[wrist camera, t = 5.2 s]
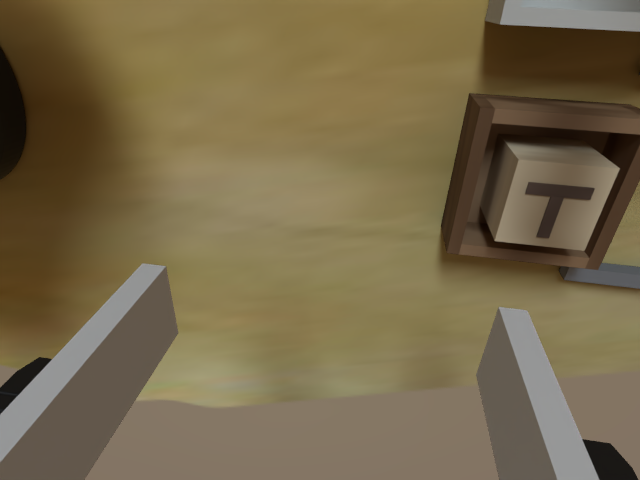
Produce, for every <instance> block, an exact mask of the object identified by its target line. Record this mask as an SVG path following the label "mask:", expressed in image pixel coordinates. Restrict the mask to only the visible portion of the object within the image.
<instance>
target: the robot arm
mask: <svg viewBox="0 0 640 480" xmlns="http://www.w3.org/2000/svg"><path fill="white" fill-rule="evenodd" d="M25 132H26V123H25V113H24V107H23V102H22V98H21V94H20V91H19V88H18V85H17V82H16V80H15V77H14V75H13V72H12V70H11V68H10V66H9V64H8V62H7V60H6V58H5V56H4V54H3V52H2V51H1V49H0V179H2V178H3V177H5V176H6V175H7V174H8V173H9V172H10V171H11V170H12V169H13V168H14V167H15V165H16V164H17V162H18V160H19V158H20V156H21V153H22V150H23V147H24V142H25ZM177 334H178V329H177V323H176V318H175V312H174V307H173V302H172V296H171V291H170V285H169V280H168V275H167V269H166V266H160V265H152V264H144V263H142V265H141V266H140V267H139V268H138V269H137V270H136V271H135V272H134V273H133V274H132V275H131V276H130V277H129V278H128V279H127V280H126V281H125V283H124V284H123V285H122V286H121V287H120V288H119V289H118V290H117V291H116V292H115V293H114V294H113V295H112V296H111V297H110V298H109V300H108V301H107V302H106V303H105V304H104V305H103V306H102V307H101V308H100V309H99V310H98V311H97V312H96V313H95V314H94V315H93V317H92V318H91V319H90V320H89V321H88V322H87V323H86V324H85V325H84V326H83V327H82V328H81V329H80V330H79V331H78V332H77V334H76V335H75V336H74V337H73V338H72V339H71V340H70V341H69V342H68V343H67V344H66V345H65V346H64V347H63V348H62V349H61V350H60V352H59V353H58V354H57V355H56V356H55V357H54V358H53V359H48V358H42V357H39V358H37V359H36V360H34V361H33V362H31V363H30V364H28V365H26V366H25V367H23V368H22V369H20V370H18V371H17V372H16V373H15V374H14V375H13V376H12V377H11V378H10V379H9V380H8V381H7V382H6V383H5V384H4V385H2V387H1V388H0V480H84V479H85V478H86V476H87V475H88V473H89V472H90V470H91V468H92V467H93V465H94V463H95V462H96V461H97V459H98V457H99V456H100V454H101V453H102V451H103V450H104V448H105V447H106V445H107V444H108V442H109V440H110V438H111V437H112V436H113V434H114V433H115V431H116V429H117V428H118V426H119V425H120V423H121V422H122V420H123V418H124V417H125V415H126V414H127V412H128V411H129V409H130V408H131V406H132V404H133V403H134V401H135V400H136V398H137V397H138V395H139V394H140V392H141V390H142V389H143V387H144V386H145V384H146V383H147V381H148V379H149V378H150V376H151V375H152V373H153V372H154V370H155V369H156V367H157V365H158V364H159V362H160V361H161V359H162V358H163V356H164V355H165V353H166V351H167V350H168V348H169V347H170V345H171V344H172V342H173V340H174V339H175V337H176V336H177ZM476 376H477V381H478V385H479V390H480V395H481V399H482V404H483V408H484V412H485V417H486V422H487V427H488V431H489V435H490V440H491V445H492V449H493V454H494V458H495V463H496V468H497V472H498V477H499V480H638V478H637V476H636V474H635V472H634V470H633V468H632V467H631V466H630V465H629V464H628V463H627V462H626V461H625V459H624V458H623V457H622V456H621V455H620V454H619V453H618V452H617V450H615V448H614V447H613V446H612V445H611V444H610V443H603V442H597V441H590V440H584V439H582V438H581V435H580V433H579V431H578V428H577V426H576V424H575V422H574V419H573V417H572V415H571V412H570V410H569V407H568V405H567V403H566V400H565V398H564V396H563V394H562V391H561V389H560V386H559V384H558V382H557V379H556V377H555V375H554V372H553V370H552V368H551V365H550V363H549V360H548V358H547V356H546V353H545V351H544V349H543V346H542V344H541V342H540V339H539V337H538V335H537V332H536V330H535V328H534V325H533V323H532V321H531V318H530V316H529V314H528V311H527V310H520V309H512V308H504V307H498V310H497V313H496V316H495V319H494V323H493V326H492V329H491V332H490V335H489V338H488V341H487V344H486V347H485V350H484V353H483V356H482V359H481V362H480V365H479V368H478V371H477V374H476Z"/></svg>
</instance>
